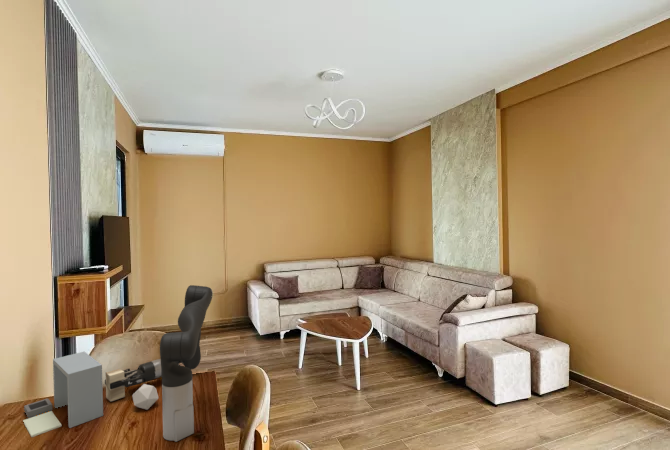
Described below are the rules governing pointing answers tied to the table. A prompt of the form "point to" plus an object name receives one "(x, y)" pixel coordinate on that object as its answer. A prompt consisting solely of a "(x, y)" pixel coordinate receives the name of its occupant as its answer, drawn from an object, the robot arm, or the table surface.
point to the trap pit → (38, 408)
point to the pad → (41, 423)
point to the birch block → (116, 392)
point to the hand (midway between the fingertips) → (107, 384)
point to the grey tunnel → (78, 387)
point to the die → (145, 396)
